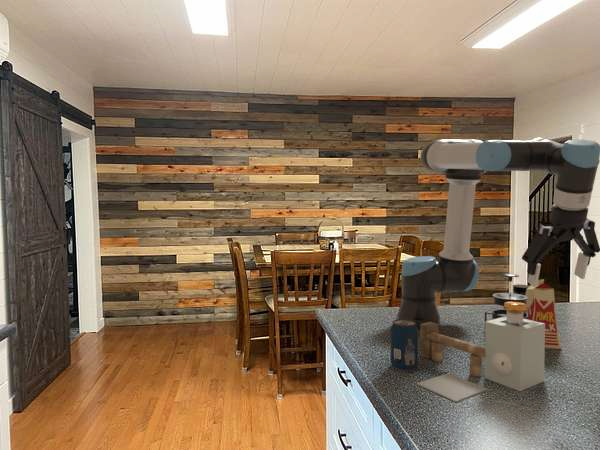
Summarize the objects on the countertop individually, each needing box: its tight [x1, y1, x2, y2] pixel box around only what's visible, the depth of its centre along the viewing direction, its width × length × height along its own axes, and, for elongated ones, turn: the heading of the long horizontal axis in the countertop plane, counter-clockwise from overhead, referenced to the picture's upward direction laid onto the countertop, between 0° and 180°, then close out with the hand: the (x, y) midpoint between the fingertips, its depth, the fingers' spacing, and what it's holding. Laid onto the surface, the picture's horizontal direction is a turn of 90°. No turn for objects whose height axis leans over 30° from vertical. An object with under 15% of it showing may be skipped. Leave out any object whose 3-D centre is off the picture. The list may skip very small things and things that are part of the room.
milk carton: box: [523, 278, 563, 350], centre depth 131 cm, size 9×9×20 cm
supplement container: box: [512, 283, 531, 295], centre depth 167 cm, size 7×7×10 cm
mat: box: [416, 372, 488, 403], centre depth 101 cm, size 11×11×1 cm
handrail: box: [419, 322, 485, 378], centre depth 114 cm, size 20×4×9 cm, turn 32°
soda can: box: [390, 318, 419, 372], centre depth 113 cm, size 7×7×12 cm
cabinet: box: [484, 315, 546, 392], centre depth 104 cm, size 9×12×14 cm
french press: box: [483, 273, 528, 342], centre depth 120 cm, size 12×9×23 cm
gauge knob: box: [503, 302, 526, 327], centre depth 104 cm, size 5×5×7 cm
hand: (555, 280), depth 113 cm, fingers open, 13 cm apart
